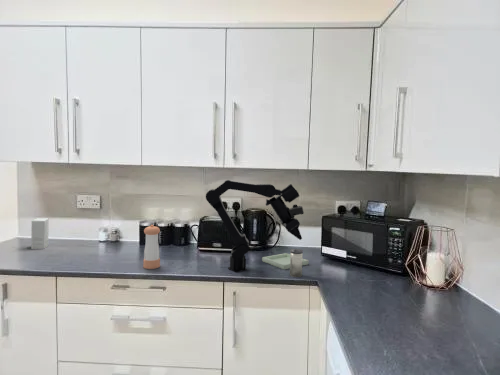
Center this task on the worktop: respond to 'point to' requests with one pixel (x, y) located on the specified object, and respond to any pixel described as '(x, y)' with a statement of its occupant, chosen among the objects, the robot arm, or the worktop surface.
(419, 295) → the worktop surface
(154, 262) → the pepper shaker
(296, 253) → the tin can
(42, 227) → the skincare box
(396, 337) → the worktop surface
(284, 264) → the tray
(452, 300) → the worktop surface
